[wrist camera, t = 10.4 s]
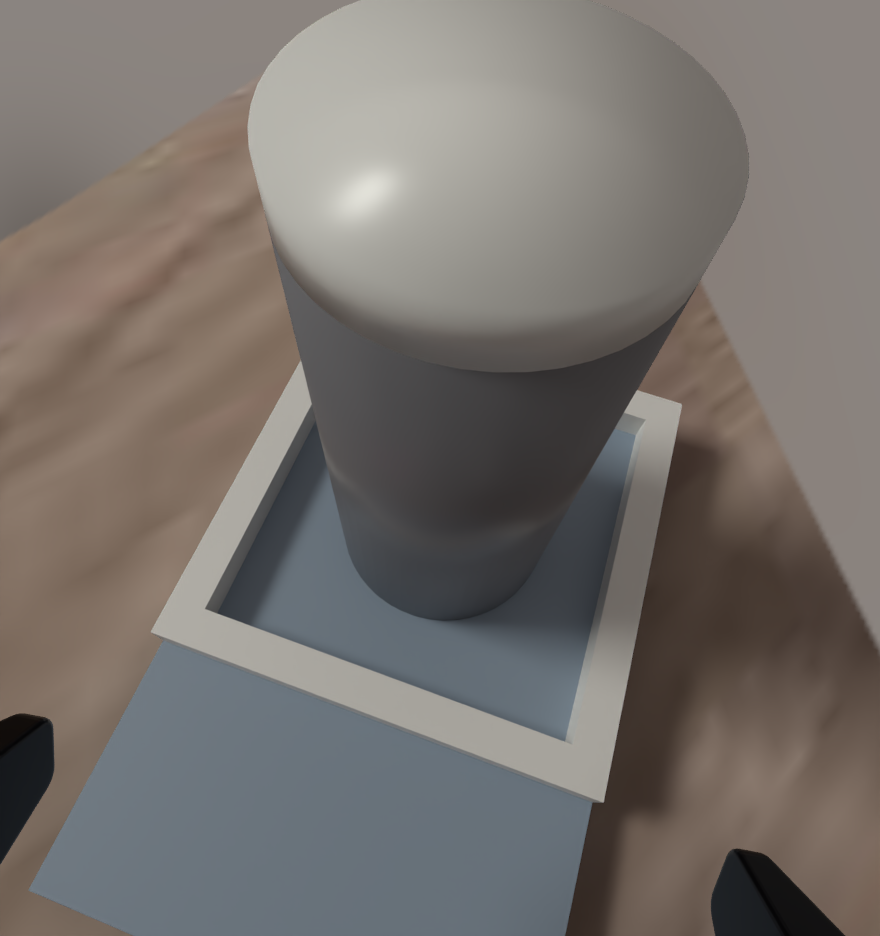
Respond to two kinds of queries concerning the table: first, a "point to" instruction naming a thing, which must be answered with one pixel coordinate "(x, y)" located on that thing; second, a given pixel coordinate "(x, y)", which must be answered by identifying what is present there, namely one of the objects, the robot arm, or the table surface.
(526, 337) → the grey cup with lid
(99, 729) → the table surface
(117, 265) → the table surface
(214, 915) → the charging board
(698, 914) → the table surface
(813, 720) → the table surface
